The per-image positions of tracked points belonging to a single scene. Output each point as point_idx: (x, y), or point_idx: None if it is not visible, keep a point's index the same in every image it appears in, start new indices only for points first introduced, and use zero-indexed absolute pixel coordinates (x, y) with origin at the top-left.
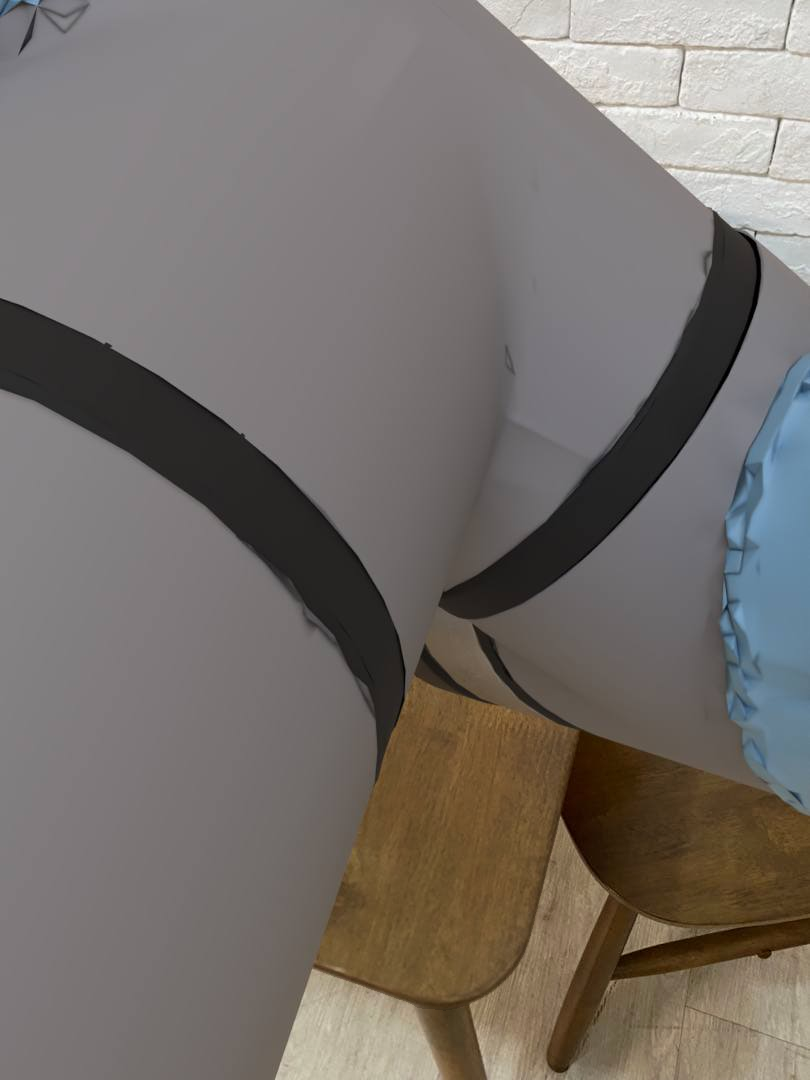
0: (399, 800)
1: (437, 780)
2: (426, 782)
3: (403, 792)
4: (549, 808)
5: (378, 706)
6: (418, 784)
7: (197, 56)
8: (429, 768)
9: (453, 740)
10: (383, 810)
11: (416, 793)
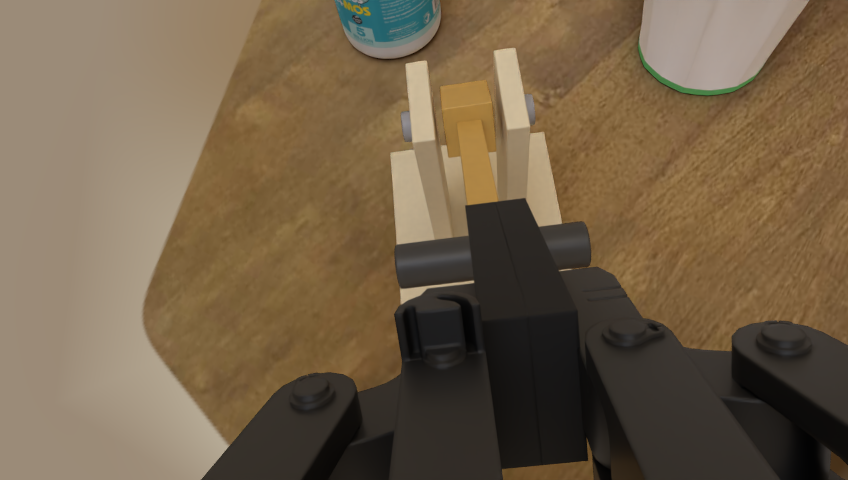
0: (535, 474)
1: (591, 472)
2: (577, 467)
3: (544, 466)
4: None
5: None
6: (566, 465)
7: None
8: (588, 451)
9: None
10: (511, 477)
11: (559, 475)
